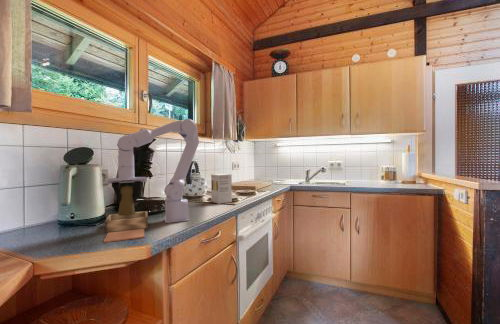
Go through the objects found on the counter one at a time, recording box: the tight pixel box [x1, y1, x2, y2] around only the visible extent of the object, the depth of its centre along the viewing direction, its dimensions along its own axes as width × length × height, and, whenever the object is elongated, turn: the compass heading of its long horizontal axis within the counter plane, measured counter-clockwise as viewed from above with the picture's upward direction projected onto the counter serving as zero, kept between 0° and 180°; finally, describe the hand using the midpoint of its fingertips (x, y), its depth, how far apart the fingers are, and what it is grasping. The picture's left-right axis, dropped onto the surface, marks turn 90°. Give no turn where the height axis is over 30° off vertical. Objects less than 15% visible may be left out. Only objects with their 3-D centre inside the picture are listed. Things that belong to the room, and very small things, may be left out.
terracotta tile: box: [103, 228, 145, 244], centre depth 88 cm, size 12×10×1 cm
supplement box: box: [210, 173, 233, 205], centre depth 152 cm, size 10×9×17 cm
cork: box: [117, 185, 136, 216], centre depth 99 cm, size 6×6×11 cm
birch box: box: [104, 210, 149, 234], centre depth 101 cm, size 15×13×4 cm
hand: (127, 201), depth 99 cm, fingers closed on cork, 5 cm apart
